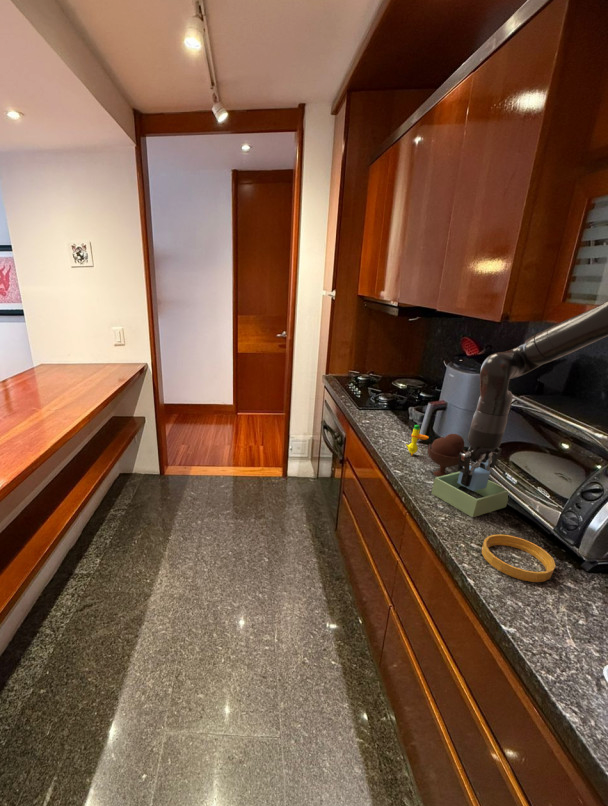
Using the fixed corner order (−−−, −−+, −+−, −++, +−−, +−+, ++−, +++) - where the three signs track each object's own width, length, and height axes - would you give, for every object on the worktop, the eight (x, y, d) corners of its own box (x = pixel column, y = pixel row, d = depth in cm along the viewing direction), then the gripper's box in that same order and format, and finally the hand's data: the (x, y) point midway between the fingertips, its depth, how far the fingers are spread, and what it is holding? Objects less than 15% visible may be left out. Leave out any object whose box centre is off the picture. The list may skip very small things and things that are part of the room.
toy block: (469, 479, 112) (473, 464, 110) (485, 487, 108) (490, 471, 106) (457, 482, 110) (461, 467, 108) (473, 491, 106) (477, 475, 104)
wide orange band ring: (505, 539, 95) (508, 529, 94) (564, 574, 84) (569, 563, 83) (467, 552, 91) (471, 542, 90) (525, 591, 80) (529, 580, 79)
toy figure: (424, 457, 138) (431, 426, 133) (423, 461, 135) (430, 429, 130) (404, 453, 141) (410, 422, 137) (402, 456, 138) (408, 425, 134)
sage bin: (462, 486, 119) (467, 469, 117) (505, 509, 107) (511, 490, 105) (430, 495, 114) (434, 477, 112) (471, 519, 103) (477, 500, 101)
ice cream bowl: (446, 467, 130) (456, 426, 125) (467, 484, 120) (479, 440, 114) (415, 468, 130) (424, 427, 124) (434, 485, 120) (445, 441, 114)
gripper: (481, 436, 96) (465, 495, 103) (520, 428, 101) (502, 484, 108) (455, 426, 103) (441, 482, 109) (492, 419, 108) (477, 472, 114)
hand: (472, 483), depth 109 cm, fingers closed on toy block, 5 cm apart
